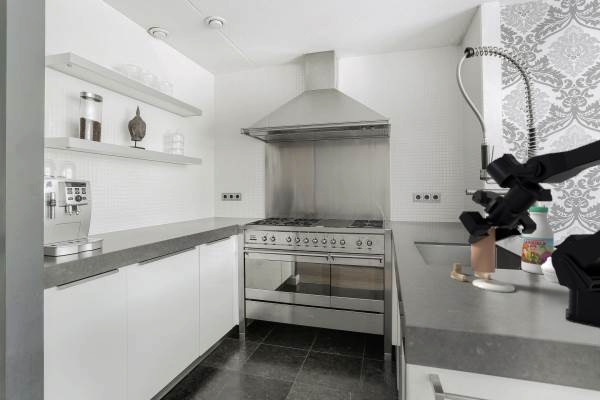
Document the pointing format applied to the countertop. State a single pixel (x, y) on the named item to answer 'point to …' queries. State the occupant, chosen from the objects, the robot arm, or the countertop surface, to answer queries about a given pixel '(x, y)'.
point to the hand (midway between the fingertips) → (478, 242)
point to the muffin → (549, 271)
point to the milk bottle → (537, 242)
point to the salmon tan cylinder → (484, 254)
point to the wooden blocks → (457, 275)
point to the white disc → (493, 285)
